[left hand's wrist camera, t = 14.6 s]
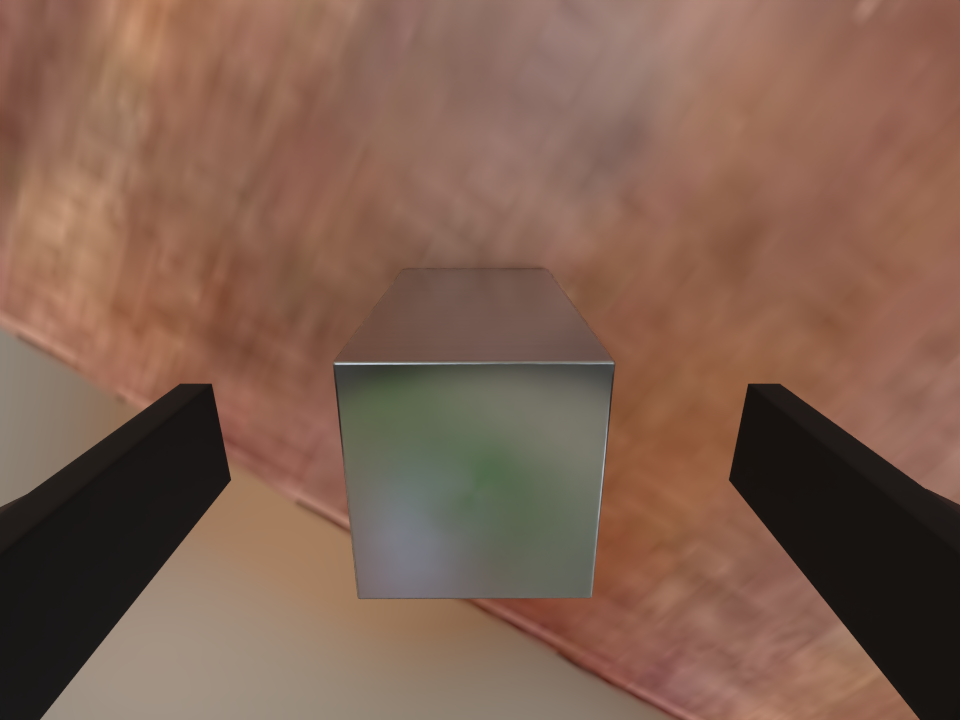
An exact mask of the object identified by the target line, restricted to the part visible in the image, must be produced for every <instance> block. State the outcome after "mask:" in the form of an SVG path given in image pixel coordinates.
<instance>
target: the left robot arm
mask: <svg viewBox="0 0 960 720" xmlns="http://www.w3.org/2000/svg"><path fill="white" fill-rule="evenodd" d="M230 481H231V477H230V472H229V467H228V462H227V457H226V452H225V447H224V442H223V437H222V432H221V428H220V423H219V418H218V413H217V408H216V403H215V398H214V393H213V388H212V384H179V385H178V386H177V387H175V388H174V389H172V390H171V391H170V392H168V393H167V394H165V395H164V396H163V397H161V398H160V399H159V400H157V401H156V402H154V403H153V404H152V405H150V406H149V407H147V408H146V409H145V410H143V411H142V412H141V413H139V414H138V415H136V416H135V417H134V418H132V419H131V420H129V421H128V422H127V423H125V424H124V425H122V426H121V427H120V428H118V429H117V430H116V431H114V432H113V433H111V434H110V435H109V436H107V437H106V438H105V439H103V440H102V441H100V442H99V443H98V444H96V445H95V446H93V447H92V448H91V449H89V450H88V451H86V452H85V453H84V454H82V455H81V456H79V457H78V458H77V459H75V460H74V461H73V462H71V463H70V464H68V465H67V466H66V467H64V468H63V469H61V470H60V471H59V472H57V473H56V474H55V475H53V476H52V477H50V478H49V479H48V480H46V481H45V482H43V483H42V484H41V485H39V486H38V487H37V488H35V489H34V490H32V491H31V492H30V493H28V494H26V495H24V496H22V497H20V498H18V499H16V500H14V501H12V502H10V503H8V504H6V505H4V506H2V507H0V720H40V719H41V718H42V717H43V715H44V714H45V713H46V712H47V710H48V709H49V708H50V707H51V705H52V704H53V703H54V701H55V700H56V699H57V698H58V697H59V695H60V694H61V693H62V691H63V690H64V689H65V688H66V686H67V685H68V684H69V683H70V681H71V680H72V679H73V678H74V676H75V675H76V674H77V673H78V671H79V670H80V669H81V668H82V666H83V665H84V664H85V663H86V661H87V660H88V659H89V658H90V656H91V655H92V654H93V653H94V651H95V650H96V649H97V647H98V646H99V645H100V644H101V643H102V641H103V640H104V639H105V638H106V636H107V635H108V634H109V633H110V631H111V630H112V629H113V627H114V626H115V625H116V624H117V622H118V621H119V620H120V619H121V617H122V616H123V615H124V614H125V612H126V611H127V610H128V609H129V607H130V606H131V605H132V604H133V602H134V601H135V600H136V599H137V597H138V596H139V595H140V594H141V592H142V591H143V590H144V589H145V587H146V586H147V585H148V584H149V582H150V581H151V580H152V579H153V577H154V576H155V575H156V574H157V572H158V571H159V570H160V569H161V567H162V566H163V565H164V563H165V562H166V561H167V560H168V558H169V557H170V556H171V555H172V553H173V552H174V551H175V550H176V548H177V547H178V546H179V545H180V543H181V542H182V541H183V540H184V538H185V537H186V536H187V535H188V533H189V532H190V531H191V530H192V528H193V527H194V526H195V525H196V523H197V522H198V521H199V520H200V518H201V517H202V516H203V515H204V513H205V512H206V511H207V510H208V508H209V507H210V506H211V505H212V503H213V502H214V501H215V499H216V498H217V497H218V496H219V494H220V493H221V492H222V491H223V489H224V488H225V487H226V486H227V484H228V483H229V482H230ZM729 481H730V482H731V483H732V484H733V486H734V487H735V488H736V489H737V491H738V492H739V493H740V495H741V496H742V497H743V498H744V500H745V501H746V502H747V503H748V505H749V506H750V507H751V508H752V510H753V511H754V512H755V513H756V515H757V516H758V517H759V518H760V520H761V521H762V522H763V523H764V525H765V526H766V527H767V528H768V530H769V531H770V532H771V533H772V535H773V536H774V537H775V538H776V540H777V541H778V542H779V543H780V545H781V546H782V547H783V548H784V550H785V551H786V552H787V553H788V555H789V556H790V557H791V558H792V560H793V561H794V562H795V564H796V565H797V566H798V567H799V569H800V570H801V571H802V572H803V574H804V575H805V576H806V577H807V579H808V580H809V581H810V582H811V584H812V585H813V586H814V587H815V589H816V590H817V591H818V592H819V594H820V595H821V596H822V597H823V599H824V600H825V601H826V602H827V604H828V605H829V606H830V607H831V609H832V610H833V611H834V612H835V614H836V615H837V616H838V617H839V619H840V620H841V621H842V622H843V624H844V625H845V626H846V627H847V629H848V630H849V631H850V633H851V634H852V635H853V636H854V638H855V639H856V640H857V641H858V643H859V644H860V645H861V646H862V648H863V649H864V650H865V651H866V653H867V654H868V655H869V656H870V658H871V659H872V660H873V661H874V663H875V664H876V665H877V666H878V668H879V669H880V670H881V671H882V673H883V674H884V675H885V676H886V678H887V679H888V680H889V681H890V683H891V684H892V685H893V686H894V688H895V689H896V690H897V691H898V693H899V694H900V695H901V697H902V698H903V699H904V700H905V702H906V703H907V704H908V705H909V707H910V708H911V709H912V710H913V712H914V713H915V714H916V715H917V717H918V718H919V719H920V720H960V505H959V504H957V503H955V502H953V501H951V500H949V499H946V498H944V497H942V496H940V495H938V494H936V493H934V492H932V491H930V490H928V489H925V488H923V487H922V486H921V485H919V484H918V483H917V482H915V481H914V480H912V479H911V478H910V477H908V476H907V475H905V474H904V473H903V472H901V471H900V470H899V469H897V468H896V467H894V466H893V465H892V464H890V463H889V462H887V461H886V460H885V459H883V458H882V457H881V456H879V455H878V454H876V453H875V452H874V451H872V450H871V449H869V448H868V447H867V446H865V445H864V444H862V443H861V442H860V441H858V440H857V439H856V438H854V437H853V436H851V435H850V434H849V433H847V432H846V431H844V430H843V429H842V428H840V427H839V426H838V425H836V424H835V423H833V422H832V421H831V420H829V419H828V418H826V417H825V416H824V415H822V414H821V413H819V412H818V411H817V410H815V409H814V408H813V407H811V406H810V405H808V404H807V403H806V402H804V401H803V400H801V399H800V398H799V397H797V396H796V395H795V394H793V393H792V392H790V391H789V390H788V389H786V388H785V387H783V386H782V385H781V384H748V388H747V393H746V398H745V403H744V408H743V413H742V418H741V423H740V428H739V432H738V437H737V442H736V447H735V452H734V457H733V462H732V467H731V472H730V477H729Z"/></svg>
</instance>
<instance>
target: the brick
mask: <svg viewBox="0 0 960 720" xmlns="http://www.w3.org/2000/svg"><path fill="white" fill-rule="evenodd" d="M333 369H334V378H335V388H336V397H337V407H338V416H339V426H340V435H341V445H342V454H343V464H344V473H345V483H346V492H347V501H348V511H349V520H350V530H351V539H352V549H353V558H354V568H355V577H356V587H357V596H358V598H359V599H479V598H591V597H592V593H593V583H594V573H595V563H596V553H597V543H598V532H599V522H600V512H601V502H602V492H603V482H604V472H605V462H606V452H607V441H608V431H609V421H610V411H611V401H612V391H613V381H614V371H615V361H614V360H613V358H612V357H611V356H610V354H609V353H608V352H607V350H606V349H605V347H604V346H603V345H602V343H601V342H600V341H599V339H598V338H597V336H596V335H595V334H594V332H593V331H592V329H591V328H590V327H589V325H588V324H587V323H586V321H585V320H584V318H583V317H582V316H581V314H580V313H579V312H578V310H577V309H576V307H575V306H574V305H573V303H572V302H571V301H570V299H569V298H568V296H567V295H566V294H565V292H564V291H563V290H562V288H561V287H560V285H559V284H558V283H557V281H556V280H555V279H554V277H553V276H552V274H551V273H550V272H549V270H548V269H403V270H402V271H401V273H400V274H399V275H398V277H397V278H396V279H395V281H394V282H393V283H392V285H391V286H390V287H389V289H388V290H387V291H386V293H385V294H384V295H383V297H382V298H381V299H380V301H379V302H378V303H377V305H376V306H375V307H374V309H373V310H372V311H371V313H370V314H369V315H368V317H367V318H366V319H365V321H364V322H363V323H362V325H361V326H360V327H359V328H358V330H357V331H356V332H355V334H354V335H353V336H352V338H351V339H350V340H349V342H348V343H347V344H346V346H345V347H344V348H343V350H342V351H341V352H340V354H339V355H338V356H337V358H336V359H335V360H334V362H333Z"/></svg>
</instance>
